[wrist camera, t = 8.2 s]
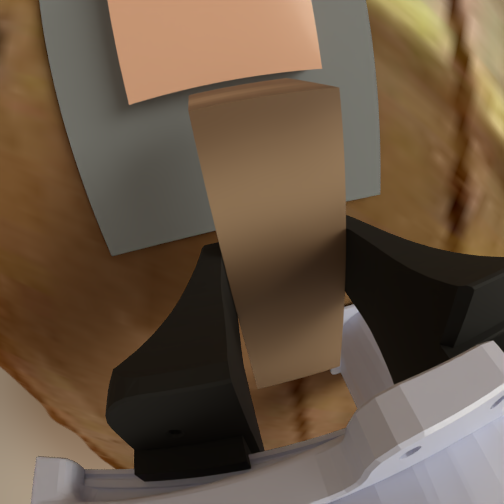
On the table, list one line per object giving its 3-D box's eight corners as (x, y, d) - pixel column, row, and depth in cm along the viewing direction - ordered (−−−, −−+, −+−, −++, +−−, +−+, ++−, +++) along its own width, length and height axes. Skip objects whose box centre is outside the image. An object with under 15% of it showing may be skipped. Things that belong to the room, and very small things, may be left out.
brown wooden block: (308, 299, 18) (339, 366, 14) (240, 316, 18) (257, 389, 14) (286, 78, 12) (339, 87, 8) (188, 95, 11) (188, 110, 7)
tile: (322, 68, 15) (294, -74, 10) (129, 104, 14) (100, -45, 9) (309, 68, 16) (284, -63, 11) (135, 101, 16) (109, -34, 11)
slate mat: (376, 191, 22) (380, 194, 22) (113, 251, 21) (111, 256, 20) (343, -76, 11) (347, -79, 11) (40, -26, 10) (36, -28, 9)
